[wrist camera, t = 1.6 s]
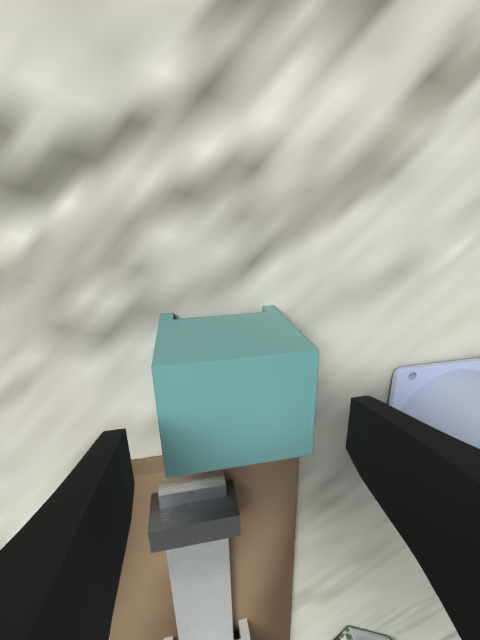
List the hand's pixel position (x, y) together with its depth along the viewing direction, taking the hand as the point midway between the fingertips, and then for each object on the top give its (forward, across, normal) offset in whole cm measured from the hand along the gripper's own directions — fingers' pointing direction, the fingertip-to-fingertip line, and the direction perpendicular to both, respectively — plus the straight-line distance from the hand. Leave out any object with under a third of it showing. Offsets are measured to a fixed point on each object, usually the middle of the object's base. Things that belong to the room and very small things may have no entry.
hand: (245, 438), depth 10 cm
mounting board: (+7, +2, +17) cm, 18 cm away
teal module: (+7, 0, 0) cm, 7 cm away
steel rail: (+5, +2, +17) cm, 18 cm away
